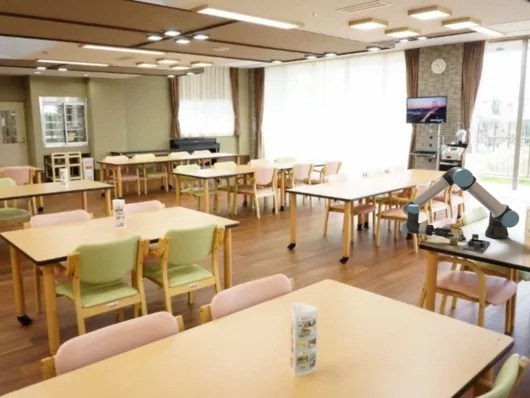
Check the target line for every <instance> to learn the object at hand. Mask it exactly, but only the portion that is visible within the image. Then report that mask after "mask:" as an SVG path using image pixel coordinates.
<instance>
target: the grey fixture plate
mask: <svg viewBox="0 0 530 398" xmlns="http://www.w3.org/2000/svg"><path fill="white" fill-rule="evenodd" d="M479 236H480V235H479V234H478V233H472V234H471V238H470V239H469V240H467V242H466V244H465V245H463V246H462V251H463V250H464V251H471V252H477V253H483V252H485V250H486V249H487V248H488V246H489V245H490V244H491V241H488V240H483V239H479Z"/></svg>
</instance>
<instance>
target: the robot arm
mask: <svg viewBox="0 0 530 398" xmlns="http://www.w3.org/2000/svg"><path fill="white" fill-rule="evenodd" d="M454 185H456V186H457V187H458V188H459V189H461V190H462V191H463V192H467V193H469V194H470V195H471V196H472V197H473V198H474V199H475V200H476V201H478V202H479V203H480V204H481V205H482V206H483V207H484V208H486V209H487V210H488V211H489V214H488V215H489V217H488V218H489V219H488V225H487V227H486V230H485V231H484V236H485V237H487V238H491V239H497V240H502V239H503V240H506V239H509V236H510V234H509V230H508V228H510V229H511V228H514V227H515V226H517V225H518V223H519V222H520V214H519V213H518V212H516V211H515V210H513V209H512V208H511V207H510V206H509V204H505V203H501V202H500V200H498V199H497V198H496V197H494V196H493V194H491V193H490V192H488V190H487V189H486V188H485V187H483V186H482V185H481V184H480V183H479V182H477V177H475V176H474V175H473V173H472V171H470V170H469V169H468V168H463V167H460V166H454V167H452V168H449V169H448V170H447V171H445V172H444V173H443V174H442V175H440V177H439V179H437V181H435V182H434V183H433V184H431V186H429V187H428V188H426V189H425V190H424V191H423V192H421V193H420V194H419V195H417V196H416V197H414V199H413V200H411V201H409V203H405V204H404V205H402V211H403V212H402V213H404V214H405V215H406V216H407V218H406V219H407V220H406V221H404V222H403V226H402V229H403V230H402V231H403V232H405V233H408V234H413V235H414V234H415V235H417V234H418V235H421V236H428V237H432V236H438V237H442V238H445V239H448V238H450V237H452V238H459V234H460V235H463V234H464V230H463V229H462V230H463V231H462V230H459V234H455V233H451V228H442V227H439V226H438V227H436V228H435V227H434V226H435V225H434V224H428V223H420V222H419V219H420V209H421V208H422V207H424V206H425V205H426V204H427V203H429V202H430V201H431V200H432V199H434V198H435V197H437V196H438V195H439V194H440V193H442V192H443V191H444V190H446V189H447V188H450V187H452V186H454Z"/></svg>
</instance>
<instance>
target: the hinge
mask: <svg viewBox="0 0 530 398" xmlns="http://www.w3.org/2000/svg"><path fill="white" fill-rule="evenodd" d="M450 224H451V223H448V224H447V223H446V224H445V225H443V226H441V228H451V227H450ZM459 230H462V231H463V232H464V230H463V229H462V227H460V228H459ZM458 240H459V241H462V240H467V238H466V236H465V234H464V233H463V235H460V234H459V238H458Z"/></svg>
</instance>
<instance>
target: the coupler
mask: <svg viewBox="0 0 530 398" xmlns="http://www.w3.org/2000/svg"><path fill="white" fill-rule="evenodd" d="M449 224H450V227H451V233H455V234H459V228H462V227H461V226H462V225H461V224H460V223H449ZM458 243H459V239H458V238H452V237H449V245H450V246H454V247H457V246H459V245H458Z"/></svg>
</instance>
